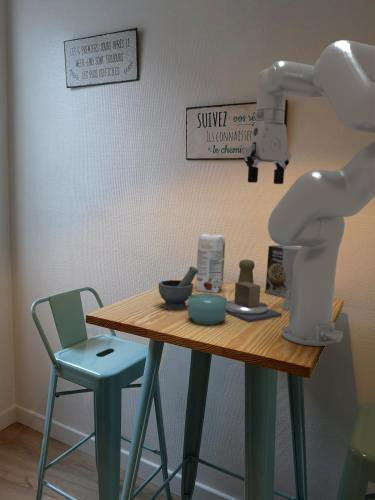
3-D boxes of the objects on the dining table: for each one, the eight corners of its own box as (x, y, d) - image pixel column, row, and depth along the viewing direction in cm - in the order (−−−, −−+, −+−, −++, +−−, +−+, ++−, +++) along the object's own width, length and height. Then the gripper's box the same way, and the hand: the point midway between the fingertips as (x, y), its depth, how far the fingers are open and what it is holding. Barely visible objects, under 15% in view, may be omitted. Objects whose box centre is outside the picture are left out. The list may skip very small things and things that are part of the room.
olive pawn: (253, 294, 143) (255, 262, 141) (235, 293, 144) (237, 260, 143) (254, 290, 149) (256, 259, 147) (237, 289, 150) (238, 258, 149)
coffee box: (264, 292, 146) (267, 245, 144) (275, 290, 150) (279, 244, 148) (286, 298, 140) (290, 249, 137) (298, 295, 144) (301, 248, 142)
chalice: (282, 303, 134) (286, 245, 131) (303, 306, 130) (308, 247, 128) (274, 308, 127) (278, 248, 125) (297, 312, 124) (302, 250, 121)
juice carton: (219, 294, 142) (222, 236, 139) (194, 291, 144) (196, 235, 142) (223, 289, 149) (226, 234, 146) (199, 286, 151) (202, 233, 149)
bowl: (233, 323, 112) (234, 300, 111) (202, 328, 106) (203, 305, 105) (210, 313, 120) (211, 292, 119) (180, 317, 114) (181, 295, 113)
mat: (281, 316, 119) (281, 313, 119) (249, 322, 113) (249, 319, 112) (241, 301, 133) (241, 299, 133) (210, 306, 127) (210, 303, 126)
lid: (276, 311, 121) (278, 286, 120) (244, 317, 114) (245, 290, 113) (248, 301, 131) (249, 278, 130) (216, 306, 124) (217, 281, 123)
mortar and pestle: (157, 310, 120) (159, 268, 118) (158, 302, 129) (159, 262, 127) (197, 311, 120) (199, 269, 119) (195, 303, 130) (197, 263, 128)
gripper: (255, 112, 107) (251, 182, 110) (302, 121, 117) (297, 184, 120) (236, 116, 114) (232, 181, 116) (282, 123, 123) (278, 184, 126)
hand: (265, 183), depth 118 cm, fingers open, 9 cm apart
